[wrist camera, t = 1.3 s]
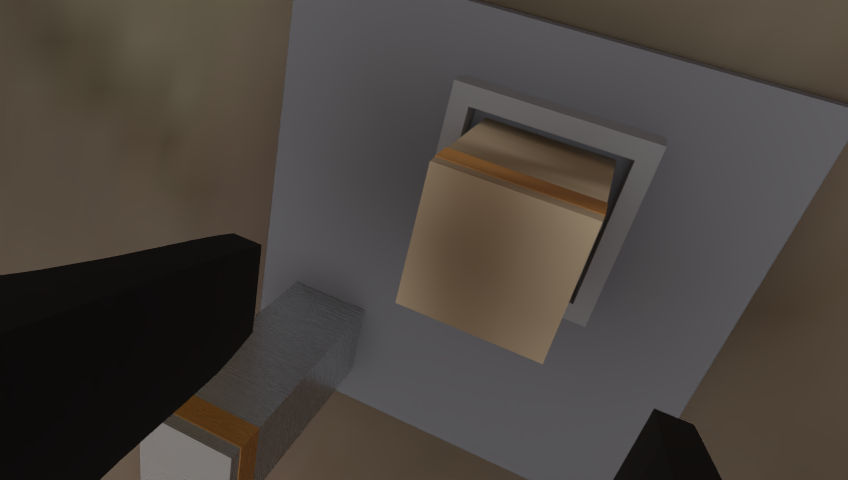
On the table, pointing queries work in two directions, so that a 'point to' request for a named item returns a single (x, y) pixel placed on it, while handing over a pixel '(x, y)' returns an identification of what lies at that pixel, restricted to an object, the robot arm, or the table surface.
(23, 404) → the robot arm
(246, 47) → the table surface
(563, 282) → the taped cardboard box
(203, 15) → the table surface
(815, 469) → the table surface
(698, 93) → the base board
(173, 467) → the post
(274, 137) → the table surface
